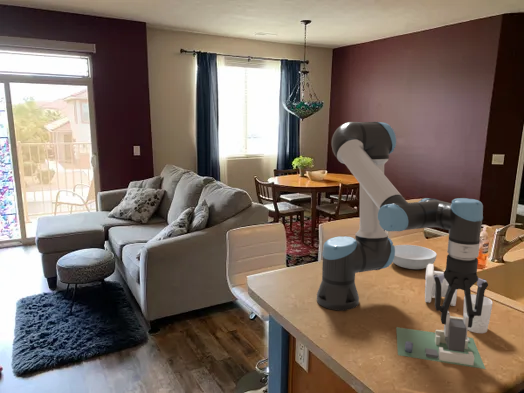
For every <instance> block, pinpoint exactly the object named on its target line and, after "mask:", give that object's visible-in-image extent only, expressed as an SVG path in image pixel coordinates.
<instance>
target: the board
mask: <svg viewBox="0 0 524 393" xmlns="http://www.w3.org/2000/svg"><path fill="white" fill-rule="evenodd" d="M395 329H396V330H395V332H396V347H397V356H400V357H408V358H414V359H420V360H426V361H433V362H439V363H443V364H452V365H456V366H457V365H458V366H462V367H463V366H464V367H469V368H477V369H483V370H486V366H485V364H484V362H483V359H482V357H481V354H480V351H479V349H478V347H477V344H476V342H475V340H474V337H469V336H467V339H468V348H467V349H464V352H459V351H452V350H448V347H447V344H446V343H440V344H439V345H436V344H435V331H434V332H432V331H426V330H421V329H420V330H419V329H411V328H407V327H398V326H396V328H395ZM439 347H442V348H443V350H444V351H450V352H457V353H463V354H468V351H469V352H473V355H474V364H473V365H466V364H460V363H454V362H448V361H441V360H439V356H438V352H439Z"/></svg>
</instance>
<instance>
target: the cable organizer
mask: <svg viewBox="0 0 524 393" xmlns="http://www.w3.org/2000/svg"><path fill="white" fill-rule="evenodd" d="M434 269H435V266H434V263H433V264H428V265H427V267H426V268H425V279H424V280H425V284H424V287H425V288H424V301H425V303H431V302H432V298H433V299H435V286H436V282H435V280H434V275H435V274H436V275H441V274H443V273H444V271H439V270H434ZM448 285H449V284H448V282H447V281H446V279H443V283H441V298H445V296H446V293H447V290H448ZM457 293H458V289H456V290H455V293H454V294H453V297H452V300H451V303H450V306H451V307H456V305H457V296H458V294H457Z"/></svg>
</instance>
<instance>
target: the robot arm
mask: <svg viewBox="0 0 524 393" xmlns="http://www.w3.org/2000/svg"><path fill="white" fill-rule="evenodd" d="M396 146H397V136H396V133H395V131H394V129H393V127H391V125H390V124H388V123H387V122H380V121H360V122H359V121H348V122H345V123H343V124H341V125H340V126H338V127H337V128H336V130H335V131H334V133H333V134H332V137H331V148H332V149H331V150H332V153H333V155H334V157H335V158H336V159H337V161H338V162H340V163H341V164H344V165H345V166H346V168H347V169H348V170H349V171H350V173H351V174H352V175H353V177H354V178H355V179H356V181H357V182H358V183H359V229H358V230H357V232H355V238H354V237H352V236H345V235H344V236H334V237H331V238H328V239H327V240H325V242H324V243H323V246H322V248H323V249H322V252H321V253H322V254H321V255H322V267H321V270H322V271H321V272H322V273H321V277H322V278H321V282H320V284H319V287H318V290H317V293H316V301H317V303H318V305H320V306H321V307H323V308H325V309H328V310H333V311H348V310H352V309H355V308H357V307H358V306H359V304H360V303H359V302H360V297H359V292H358V289H357V286H356V283H355V280H356V274H357V273H363V272H371V271H380V270H382V269H386V268H388V267H390V265H392V263H393V260H394V257H395V247H394V246H395V245H394V242H393V241H392V239H391V238H389V234H388V232H403V231H410V230H417V229H418V230H419V229H420V230H421V229H427V228H429V229H430V228H439V229H443V230H445V231H448V241H447V250H446V251H447V255H446V264H445V271H443V272H444V273H443V274H441V275H436V274H435V275H434V280H435V282H436V286H435V298H434V307H435V311H437V312H440V321H441V322H440V323H441V325H443V330H444V335H445V337H448V331H449V321H450V316H451V314H450V311H449V308H450V306H451V305H450V303H451V300H452V297H453V294H454V293H455V290H456V289H457V290H462V291H463V293H464V296H465V301H466V308H467V313H464V317H463V316H462V318H463V321H464V324H465V326H466V328H467V329H466V340H467V337H468V331H469V330H468V327H470V328H471V327H472V322H473V318H474V316H481V312H482V306H483V299H484V296H485V291H486V290H487V288H488V286H489V283H488V282H487V280H486V279H484V278H480V277H479V276H478V262H479V260H478V257H479V251H480V242H481V240H480V238H481V233H482V232H481V231H482V225H483V220H484V216H483V214H484V212H483V211H484V205H483V203H482V202H481V201H480V200H478V199H474V198H466V197H460V198H459V197H458V198H454V199H452V200H451V202H447V201H443V200H439V199H437V198H428V197H425V198H422V199H420V200H419V201H415V202H414V201H413V202H408V201H407V200H406V199H405V197H403V195H402V194H401V193H400V192H399V191H398V189H397V188H396V186H394V185H393V183H392V182H391V181H390V179H389V178H388V177H387V176H386V175H385V164H386V163H387V162H388V161H389V159H390V156H389V155H390V154H392V153H393V152H394V151H395V149H396ZM443 279H446V281H447V282H448V284H449V285H448V290H447V293H446V296H445V297H444V299H443V302H442V301H441V300H442V297H441V283H443ZM475 284H476V285H477V291H476V302H475V309H474V310H473V308H472V300H471V293H472V292H471V288H472V287H473V286H474V285H475Z"/></svg>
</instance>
